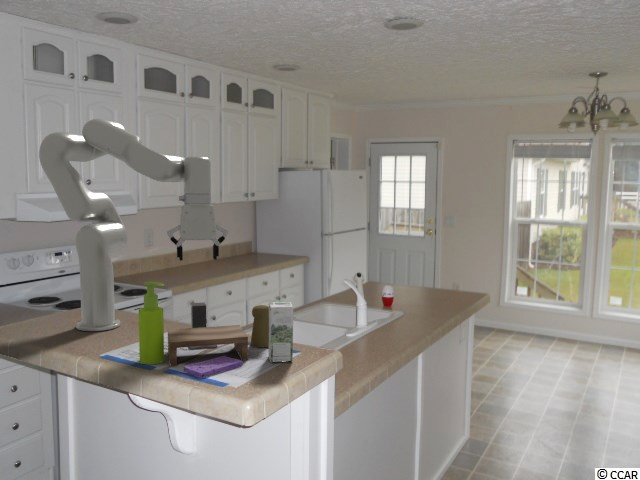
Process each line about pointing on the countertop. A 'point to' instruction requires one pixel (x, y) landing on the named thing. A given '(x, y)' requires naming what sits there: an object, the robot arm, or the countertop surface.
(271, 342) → the syrup box
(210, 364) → the sponges
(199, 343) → the low shelf
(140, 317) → the soap dispenser
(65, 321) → the countertop surface
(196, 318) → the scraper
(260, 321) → the cork
